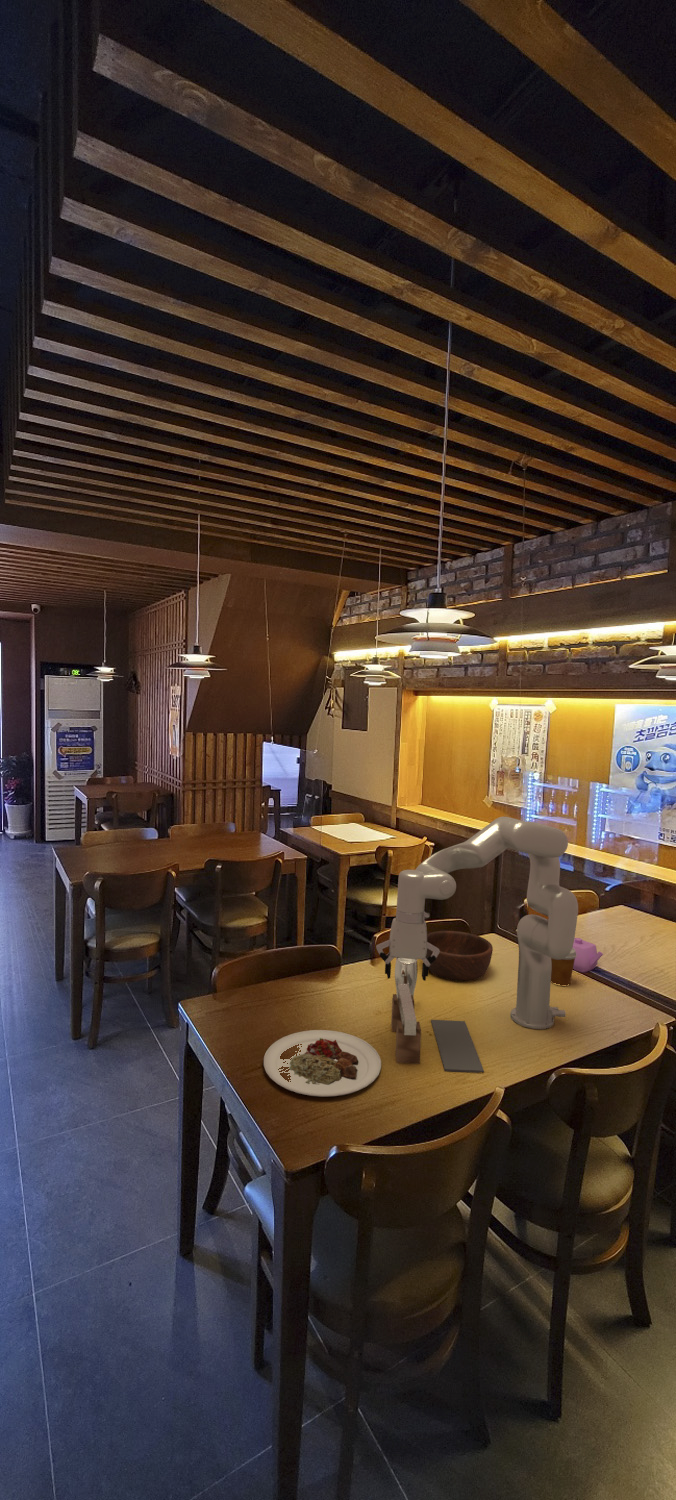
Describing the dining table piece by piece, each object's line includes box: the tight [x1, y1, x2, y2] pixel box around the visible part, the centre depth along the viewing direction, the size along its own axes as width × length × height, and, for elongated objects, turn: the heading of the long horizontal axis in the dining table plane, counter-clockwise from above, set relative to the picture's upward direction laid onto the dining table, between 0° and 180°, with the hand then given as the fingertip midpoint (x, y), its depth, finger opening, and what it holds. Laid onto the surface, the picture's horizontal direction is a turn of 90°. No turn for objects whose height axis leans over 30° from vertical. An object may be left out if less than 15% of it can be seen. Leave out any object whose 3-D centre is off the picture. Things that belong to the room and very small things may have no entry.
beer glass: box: [394, 958, 418, 998], centre depth 195 cm, size 7×7×15 cm
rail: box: [396, 983, 418, 1036], centre depth 173 cm, size 3×22×4 cm, turn 179°
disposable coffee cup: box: [551, 948, 577, 985], centre depth 218 cm, size 10×10×12 cm
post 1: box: [390, 993, 415, 1033], centre depth 181 cm, size 6×4×9 cm, turn 89°
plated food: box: [263, 1029, 382, 1097], centre depth 161 cm, size 30×30×3 cm
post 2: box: [395, 1021, 422, 1065], centre depth 165 cm, size 6×4×9 cm, turn 89°
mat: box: [430, 1019, 485, 1074], centre depth 173 cm, size 10×26×1 cm, turn 179°
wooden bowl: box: [426, 930, 494, 982], centre depth 225 cm, size 25×25×10 cm
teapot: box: [572, 937, 604, 974], centre depth 233 cm, size 18×10×10 cm, turn 38°
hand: (406, 977), depth 172 cm, fingers open, 9 cm apart
